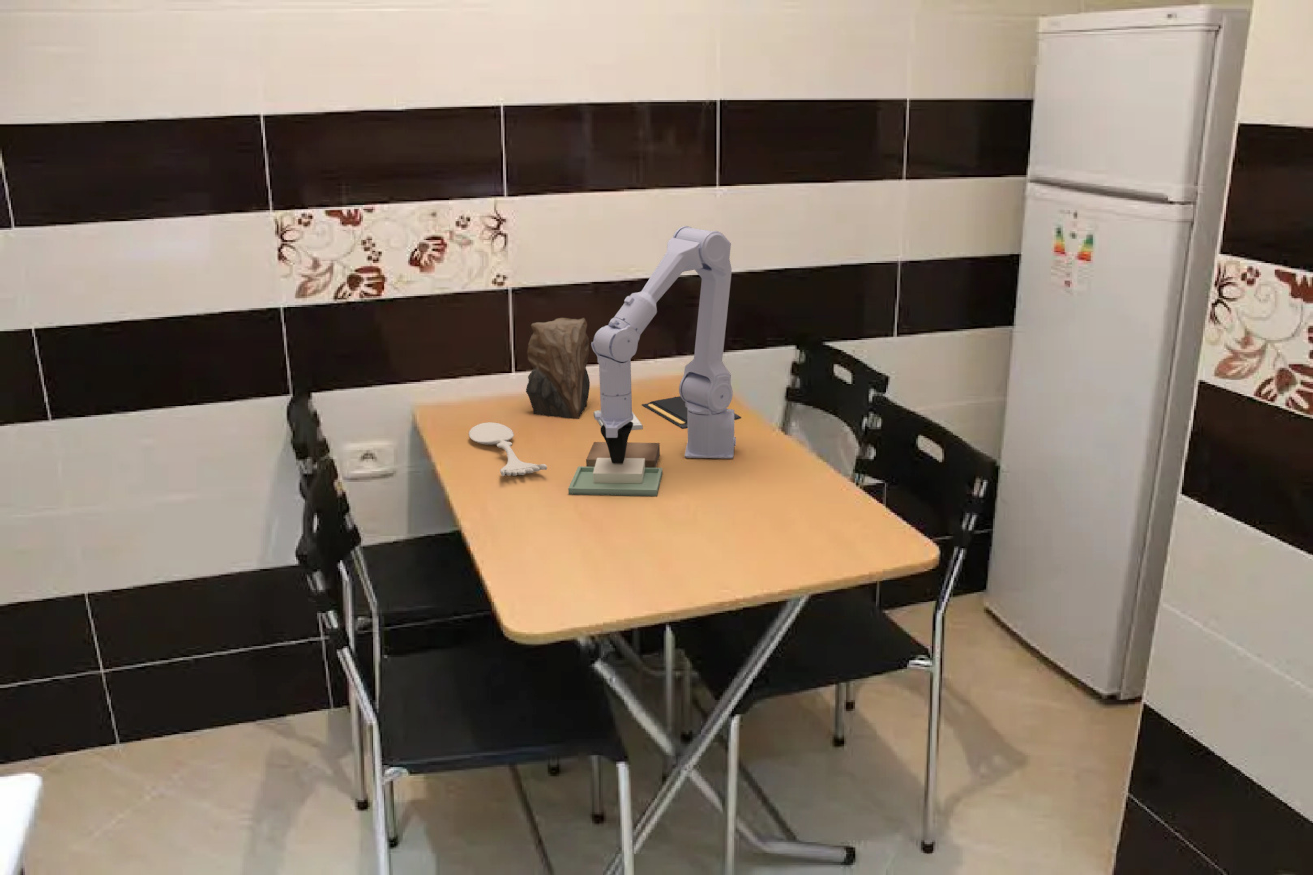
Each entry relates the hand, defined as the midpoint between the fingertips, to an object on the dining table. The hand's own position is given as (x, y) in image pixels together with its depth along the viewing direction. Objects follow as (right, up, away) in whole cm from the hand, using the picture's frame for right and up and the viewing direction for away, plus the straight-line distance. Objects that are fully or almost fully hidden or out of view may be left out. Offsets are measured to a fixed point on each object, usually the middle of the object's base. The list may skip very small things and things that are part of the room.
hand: (618, 462), depth 208 cm
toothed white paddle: (-23, 0, +14) cm, 27 cm away
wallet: (+15, +10, +39) cm, 43 cm away
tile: (0, -2, 0) cm, 2 cm away
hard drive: (-1, +7, +33) cm, 34 cm away
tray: (0, -4, -2) cm, 4 cm away
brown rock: (-14, +10, +40) cm, 44 cm away
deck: (+1, 0, +9) cm, 9 cm away
